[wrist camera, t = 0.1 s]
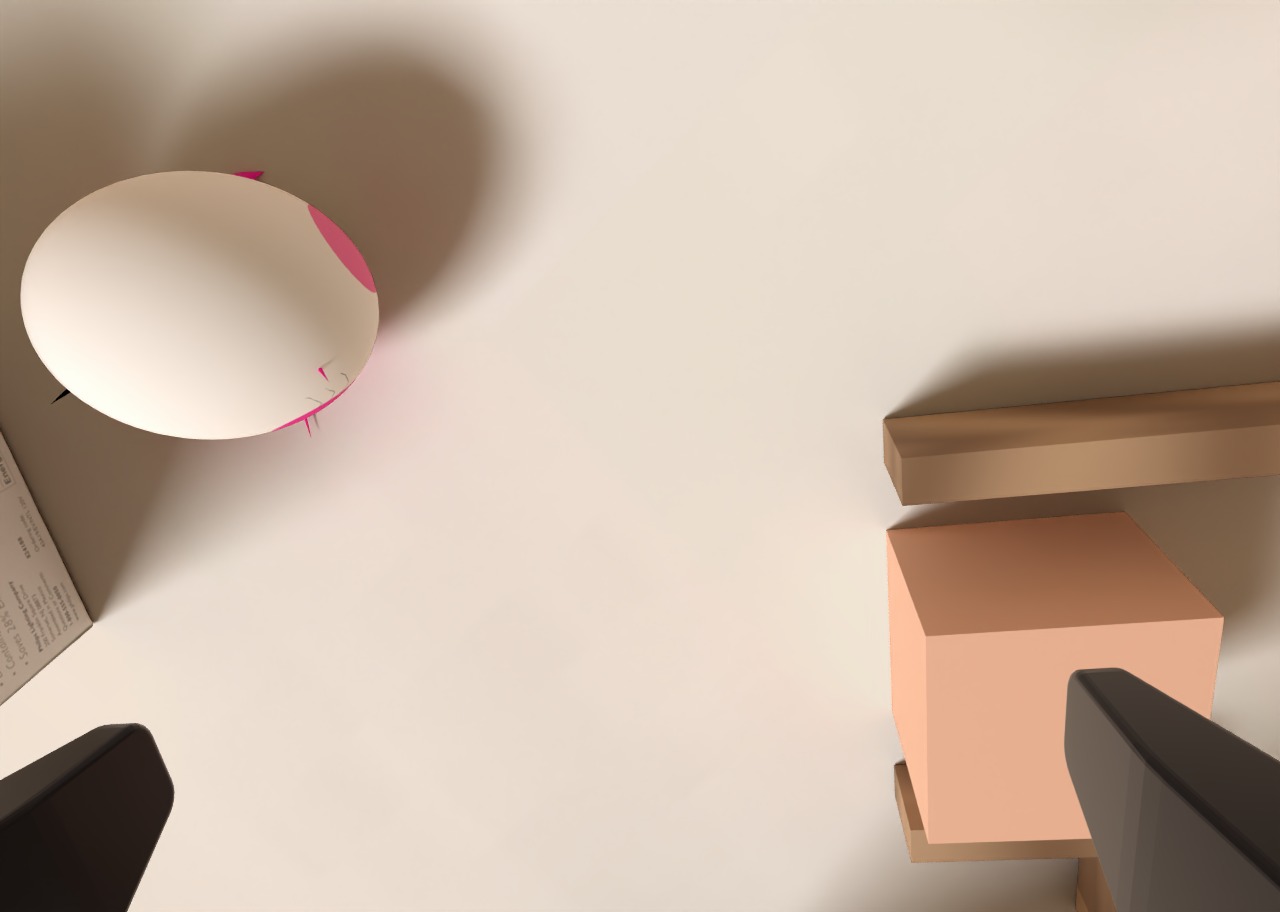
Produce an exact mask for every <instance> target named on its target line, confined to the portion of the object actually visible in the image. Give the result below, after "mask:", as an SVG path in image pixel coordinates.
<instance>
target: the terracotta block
mask: <svg viewBox="0 0 1280 912" xmlns="http://www.w3.org/2000/svg"><path fill="white" fill-rule="evenodd" d="M886 537H887V568H888V600H889V631H890V663H891V694H892V713H893V716H894V720H895V724H896V727H897V731H898V735H899V738H900V742H901V745H902V749H903V753H904V756H905V760H906V764H907V767H908V771H909V775H910V778H911V782H912V786H913V789H914V793H915V797H916V800H917V804H918V808H919V811H920V815H921V819H922V822H923V826H924V830H925V833H926V837H927V841H928V844H943V843H973V842H1003V841H1033V840H1063V839H1092V838H1091V835H1090V832H1089V829H1088V826H1087V823H1086V821H1085V818H1084V815H1083V812H1082V809H1081V806H1080V803H1079V800H1078V797H1077V795H1076V792H1075V789H1074V786H1073V783H1072V780H1071V777H1070V774H1069V771H1068V768H1067V764H1066V759H1065V752H1064V733H1065V716H1066V700H1067V685H1068V681H1069V678H1070V675H1071V674H1072V673H1073V672H1075V671H1076V670H1079V669H1096V668H1121V669H1124V670H1126V671H1128V672H1130V673H1131V674H1133V675H1135V676H1136V677H1138V678H1140V679H1142V680H1143V681H1145V682H1147V683H1148V684H1150V685H1152V686H1153V687H1155V688H1157V689H1158V690H1160V691H1162V692H1163V693H1165V694H1167V695H1169V696H1170V697H1172V698H1174V699H1175V700H1177V701H1179V702H1180V703H1182V704H1184V705H1185V706H1187V707H1189V708H1191V709H1192V710H1194V711H1196V712H1197V713H1199V714H1201V715H1202V716H1204V717H1206V718H1207V719H1209V720H1210V716H1211V709H1212V702H1213V694H1214V687H1215V680H1216V673H1217V666H1218V659H1219V652H1220V645H1221V638H1222V630H1223V623H1224V617H1223V616H1222V615H1221V613H1220V612H1219V611H1218V610H1217V609H1216V608H1215V607H1214V606H1213V605H1212V604H1211V603H1210V602H1209V601H1208V600H1207V599H1206V598H1205V596H1204V595H1203V594H1202V593H1201V592H1200V591H1199V590H1198V589H1197V588H1196V587H1195V586H1194V585H1193V584H1192V583H1191V582H1190V581H1189V579H1188V578H1187V577H1186V576H1185V575H1184V574H1183V573H1182V572H1181V571H1180V570H1179V569H1178V568H1177V567H1176V566H1175V565H1174V564H1173V562H1172V561H1171V560H1170V559H1169V558H1168V557H1167V556H1166V555H1165V554H1164V553H1163V552H1162V551H1161V550H1160V549H1159V548H1158V547H1157V545H1156V544H1155V543H1154V542H1153V541H1152V540H1151V539H1150V538H1149V537H1148V536H1147V535H1146V534H1145V533H1144V532H1143V531H1142V530H1141V528H1140V527H1139V526H1138V525H1137V524H1136V523H1135V522H1134V521H1133V520H1132V519H1131V518H1130V517H1129V516H1128V515H1127V514H1126V513H1125V511H1124V512H1111V513H1098V514H1086V515H1073V516H1060V517H1047V518H1035V519H1022V520H1009V521H996V522H984V523H971V524H958V525H945V526H933V527H920V528H907V529H894V530H886Z"/></svg>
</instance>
